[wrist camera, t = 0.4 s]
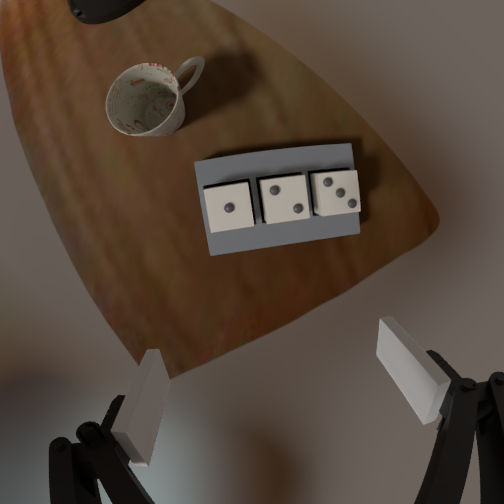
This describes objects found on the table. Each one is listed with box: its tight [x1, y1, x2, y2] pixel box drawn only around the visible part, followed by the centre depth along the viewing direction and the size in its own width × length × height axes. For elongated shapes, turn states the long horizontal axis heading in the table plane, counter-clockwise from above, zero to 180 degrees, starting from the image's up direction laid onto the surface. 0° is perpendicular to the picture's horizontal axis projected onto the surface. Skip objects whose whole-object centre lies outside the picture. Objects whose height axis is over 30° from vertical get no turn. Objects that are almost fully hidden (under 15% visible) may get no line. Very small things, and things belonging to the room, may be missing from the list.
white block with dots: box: [310, 170, 361, 216], centre depth 34 cm, size 5×5×4 cm
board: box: [194, 143, 360, 256], centre depth 36 cm, size 12×20×3 cm, turn 98°
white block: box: [204, 182, 254, 233], centre depth 34 cm, size 5×5×4 cm
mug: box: [106, 56, 205, 136], centre depth 29 cm, size 8×13×10 cm, turn 138°
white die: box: [259, 175, 310, 224], centre depth 34 cm, size 5×5×4 cm
